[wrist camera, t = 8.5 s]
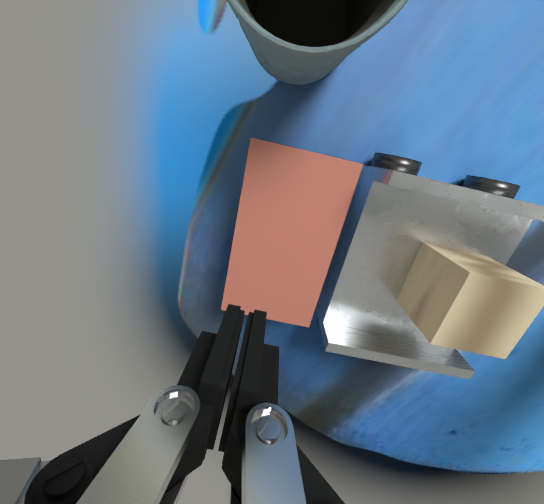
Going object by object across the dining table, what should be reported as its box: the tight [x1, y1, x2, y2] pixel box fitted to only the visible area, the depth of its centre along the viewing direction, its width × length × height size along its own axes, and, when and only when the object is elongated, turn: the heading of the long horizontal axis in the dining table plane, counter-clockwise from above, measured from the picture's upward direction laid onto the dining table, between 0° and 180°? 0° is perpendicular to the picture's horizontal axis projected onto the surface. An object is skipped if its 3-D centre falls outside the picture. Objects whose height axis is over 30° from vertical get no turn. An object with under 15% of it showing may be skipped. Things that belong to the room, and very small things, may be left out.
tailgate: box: [221, 138, 363, 327], centre depth 24 cm, size 1×16×9 cm
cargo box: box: [396, 242, 544, 359], centre depth 21 cm, size 6×6×6 cm
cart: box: [316, 153, 544, 379], centre depth 25 cm, size 14×18×8 cm
